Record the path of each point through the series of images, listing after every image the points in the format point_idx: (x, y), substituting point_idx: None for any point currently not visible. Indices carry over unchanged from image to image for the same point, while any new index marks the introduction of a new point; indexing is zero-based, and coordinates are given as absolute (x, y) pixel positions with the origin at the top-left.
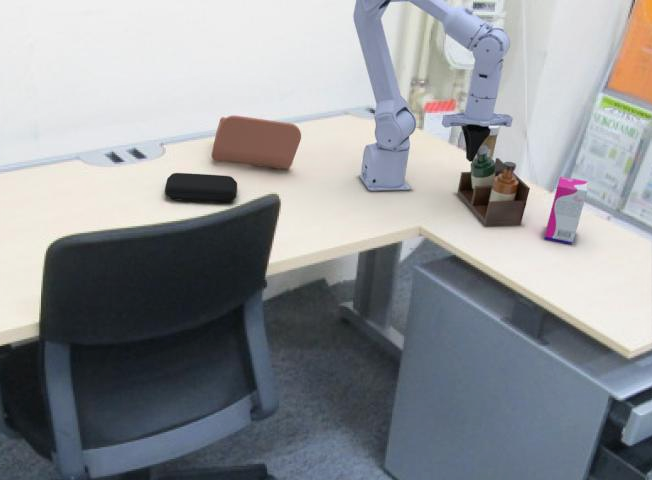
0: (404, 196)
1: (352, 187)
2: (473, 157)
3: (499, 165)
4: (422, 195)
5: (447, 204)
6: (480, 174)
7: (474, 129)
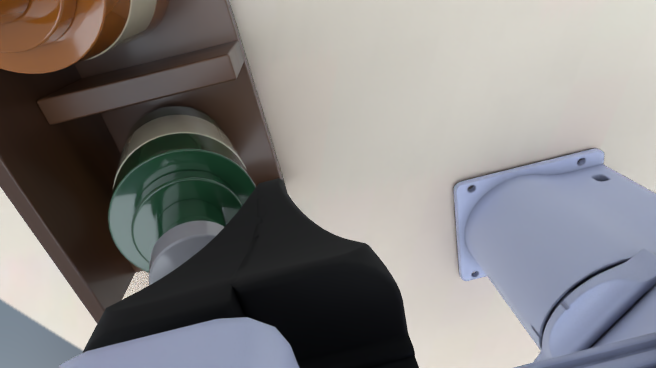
0: (485, 131)
1: (638, 168)
2: (260, 189)
3: (90, 265)
4: (416, 153)
5: (335, 89)
6: (203, 140)
7: (309, 357)
